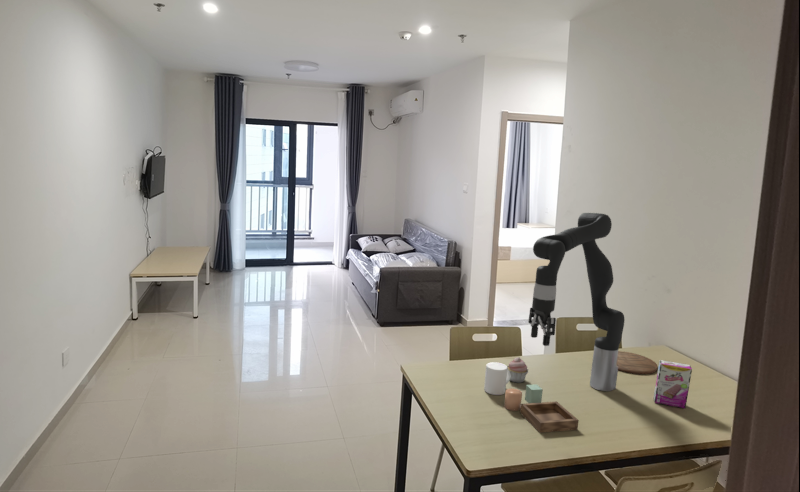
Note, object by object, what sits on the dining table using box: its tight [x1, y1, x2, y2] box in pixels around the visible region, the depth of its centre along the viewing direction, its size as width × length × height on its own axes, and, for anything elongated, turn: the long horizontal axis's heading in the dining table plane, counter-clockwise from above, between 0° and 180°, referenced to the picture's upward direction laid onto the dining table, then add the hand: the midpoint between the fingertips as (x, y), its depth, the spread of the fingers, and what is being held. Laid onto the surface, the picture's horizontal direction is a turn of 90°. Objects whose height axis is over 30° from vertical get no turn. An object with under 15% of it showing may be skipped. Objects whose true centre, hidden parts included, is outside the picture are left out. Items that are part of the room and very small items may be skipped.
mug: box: [483, 361, 511, 396], centre depth 216 cm, size 8×10×12 cm
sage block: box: [524, 383, 543, 403], centre depth 207 cm, size 4×4×6 cm
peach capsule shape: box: [503, 387, 523, 412], centre depth 202 cm, size 6×6×6 cm
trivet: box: [616, 350, 658, 375], centre depth 253 cm, size 25×25×2 cm
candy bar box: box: [653, 359, 693, 409], centre depth 211 cm, size 11×5×16 cm, turn 71°
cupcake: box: [506, 356, 529, 384], centre depth 227 cm, size 9×9×10 cm
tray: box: [519, 401, 580, 434], centre depth 192 cm, size 14×14×4 cm
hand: (539, 341), depth 191 cm, fingers open, 8 cm apart
